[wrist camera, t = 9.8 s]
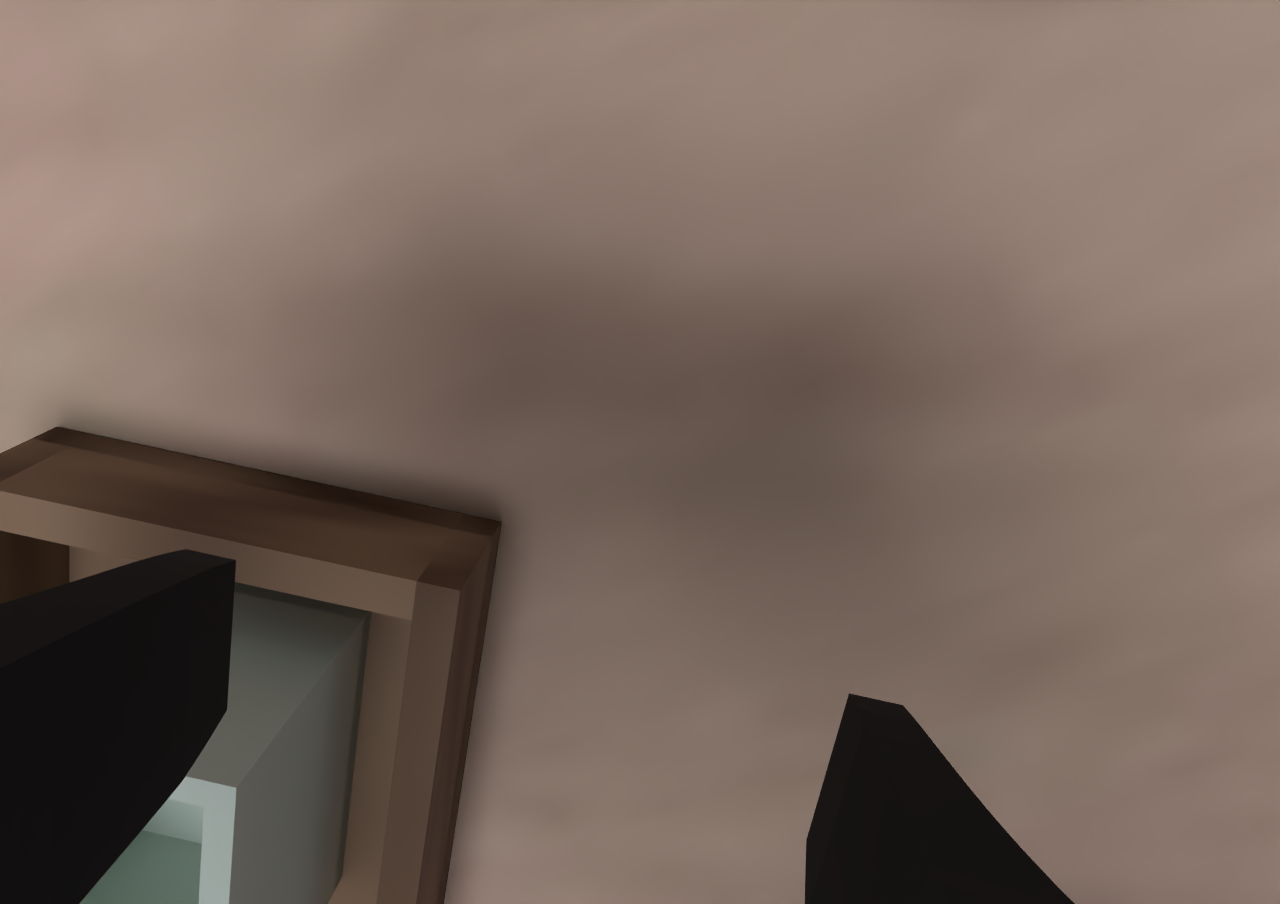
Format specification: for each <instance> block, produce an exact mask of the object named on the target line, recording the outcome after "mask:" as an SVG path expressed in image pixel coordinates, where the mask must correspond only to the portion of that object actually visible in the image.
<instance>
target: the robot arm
mask: <svg viewBox="0 0 1280 904" xmlns="http://www.w3.org/2000/svg"><path fill="white" fill-rule="evenodd" d="M235 572H236V560H234V559H229V558H225V557H220V556H215V555H211V554H206V553H202V552H197V551H193V550H188V549H184V550H179V551H174V552H169V553H165V554H161V555H157V556H154V557H150V558H146V559H143V560H140V561H136V562H133V563H130V564H126V565H123V566H120V567H117V568H114V569H110V570H107V571H104V572H101V573H98V574H95V575H92V576H89V577H85V578H82V579H79V580H76V581H73V582H70V583H66V584H63V585H60V586H57V587H54V588H51V589H47V590H44V591H41V592H38V593H35V594H32V595H29V596H25V597H22V598H19V599H16V600H12V601H8V602H5V603H1V604H0V904H79V903H80V902H81V901H82V900H83V899H84V898H85V896H86V895H87V894H88V893H89V892H90V891H91V889H92V888H93V887H94V886H95V885H96V883H97V882H98V881H99V880H100V879H101V878H102V876H103V875H104V874H105V873H106V872H107V871H108V869H109V868H110V867H111V866H112V865H113V864H114V862H115V861H116V860H117V859H118V858H119V856H120V855H121V854H122V853H123V852H124V851H125V849H126V848H127V847H128V846H129V845H130V844H131V842H132V841H133V840H134V839H135V838H136V837H137V835H138V834H139V833H140V832H141V831H142V829H143V828H144V827H145V826H146V825H147V823H148V822H149V821H150V820H151V819H152V817H153V816H154V815H155V814H156V813H157V811H158V810H159V809H160V808H161V807H162V805H163V804H164V803H165V802H166V801H167V799H168V798H169V797H170V796H171V794H172V793H173V792H174V791H175V790H176V788H177V787H178V786H179V785H180V783H181V782H182V781H183V780H184V778H185V776H186V775H187V773H188V772H189V770H190V769H191V767H192V766H193V764H194V763H195V761H196V760H197V758H198V757H199V755H200V754H201V752H202V750H203V749H204V747H205V746H206V744H207V742H208V741H209V739H210V737H211V736H212V734H213V732H214V731H215V729H216V728H217V726H218V724H219V723H220V721H221V719H222V718H223V716H224V714H225V713H226V711H227V704H228V687H229V671H230V654H231V638H232V621H233V605H234V588H235ZM805 904H1074V903H1073V902H1072V901H1071V900H1070V899H1069V898H1068V897H1067V896H1066V895H1065V894H1064V893H1063V892H1062V891H1061V890H1060V889H1059V888H1058V887H1057V886H1056V885H1055V884H1054V883H1053V882H1052V880H1051V879H1050V878H1049V877H1048V876H1047V875H1046V874H1045V873H1044V872H1043V871H1042V870H1041V869H1040V868H1039V867H1038V866H1037V865H1036V863H1035V862H1034V861H1033V860H1032V859H1031V858H1030V857H1029V856H1028V855H1027V854H1026V853H1025V852H1024V851H1023V850H1022V849H1021V848H1020V846H1019V845H1018V844H1017V843H1016V842H1015V841H1014V840H1013V839H1012V837H1011V836H1010V835H1009V834H1008V833H1007V832H1006V831H1005V829H1004V828H1003V827H1002V826H1001V825H1000V824H999V823H998V821H997V820H996V819H995V818H994V817H993V816H992V814H991V813H990V812H989V811H988V810H987V809H986V807H985V806H984V805H983V804H982V803H981V801H980V800H979V799H978V798H977V797H976V795H975V794H974V793H973V792H972V790H971V789H970V788H969V787H968V786H967V784H966V783H965V782H964V781H963V779H962V778H961V777H960V776H959V774H958V773H957V772H956V771H955V769H954V768H953V767H952V766H951V764H950V763H949V762H948V761H947V759H946V758H945V757H944V755H943V754H942V753H941V752H940V750H939V749H938V748H937V747H936V745H935V744H934V743H933V741H932V740H931V739H930V738H929V736H928V735H927V734H926V733H925V731H924V730H923V729H922V728H921V726H920V725H919V724H918V723H917V721H916V720H915V719H914V718H913V717H912V715H911V714H910V713H909V712H908V711H907V710H906V708H905V707H904V706H903V705H899V704H895V703H890V702H885V701H881V700H876V699H872V698H867V697H862V696H858V695H853V694H849V696H848V699H847V703H846V706H845V710H844V713H843V716H842V720H841V723H840V727H839V730H838V734H837V737H836V741H835V744H834V747H833V751H832V754H831V758H830V761H829V765H828V768H827V771H826V775H825V778H824V782H823V785H822V789H821V792H820V796H819V799H818V802H817V806H816V809H815V813H814V816H813V820H812V823H811V827H810V830H809V833H808V837H807V844H806V877H805Z"/></svg>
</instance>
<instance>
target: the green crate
mask: <svg viewBox="0 0 1280 904" xmlns="http://www.w3.org/2000/svg"><path fill="white" fill-rule="evenodd" d="M136 561H137V560H136ZM136 561H135V562H136ZM370 619H371V611H366V610H361V609H357V608H352V607H348V606H343V605H339V604H334V603H329V602H325V601H320V600H316V599H311V598H307V597H302V596H297V595H293V594H288V593H284V592H279V591H275V590H270V589H265V588H261V587H256V586H252V585H247V584H243V583H238V582H235V588H234V605H233V621H232V638H231V654H230V671H229V687H228V704H227V711H226V713H225V714H224V716H223V718H222V719H221V721H220V723H219V724H218V726H217V728H216V729H215V731H214V732H213V734H212V736H211V737H210V739H209V741H208V742H207V744H206V746H205V747H204V749H203V750H202V752H201V754H200V755H199V757H198V758H197V760H196V761H195V763H194V764H193V766H192V767H191V769H190V770H189V772H188V773H187V775H186V776H185V778H184V780H183V781H182V782H181V783H180V785H179V786H178V787H177V788H176V790H175V791H174V792H173V793H172V794H171V796H170V797H169V798H168V799H167V801H166V802H165V803H164V804H163V805H162V807H161V808H160V809H159V810H158V811H157V813H156V814H155V815H154V816H153V817H152V819H151V820H150V821H149V822H148V823H147V825H146V826H145V827H144V828H143V829H142V831H141V832H140V833H139V834H138V835H137V837H136V838H135V839H134V840H133V841H132V842H131V844H130V845H129V846H128V847H127V848H126V849H125V851H124V852H123V853H122V854H121V855H120V856H119V858H118V859H117V860H116V861H115V862H114V864H113V865H112V866H111V867H110V868H109V869H108V871H107V872H106V873H105V874H104V875H103V876H102V878H101V879H100V880H99V881H98V882H97V883H96V885H95V886H94V887H93V888H92V889H91V891H90V892H89V893H88V894H87V895H86V896H85V898H84V899H83V900H82V901H81V902H80V903H79V904H328V902H329V900H330V899H331V897H332V895H333V893H334V891H335V889H336V887H337V885H338V884H339V882H340V880H341V878H342V873H343V864H344V855H345V846H346V837H347V828H348V819H349V810H350V801H351V792H352V782H353V773H354V764H355V755H356V746H357V737H358V728H359V719H360V710H361V700H362V691H363V682H364V673H365V664H366V655H367V646H368V637H369V628H370Z"/></svg>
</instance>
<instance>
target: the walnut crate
mask: <svg viewBox="0 0 1280 904" xmlns="http://www.w3.org/2000/svg"><path fill="white" fill-rule="evenodd" d="M500 529H501V522H498V521H494V520H489V519H484V518H480V517H475V516H470V515H465V514H461V513H456V512H451V511H447V510H442V509H437V508H433V507H428V506H423V505H419V504H414V503H409V502H405V501H400V500H395V499H391V498H386V497H381V496H377V495H372V494H367V493H363V492H358V491H353V490H349V489H344V488H339V487H335V486H330V485H325V484H321V483H316V482H311V481H307V480H302V479H297V478H293V477H288V476H283V475H279V474H274V473H269V472H265V471H260V470H255V469H251V468H246V467H241V466H237V465H232V464H227V463H223V462H218V461H213V460H209V459H204V458H199V457H195V456H190V455H185V454H181V453H176V452H171V451H167V450H162V449H157V448H153V447H148V446H143V445H139V444H134V443H129V442H125V441H120V440H115V439H111V438H106V437H101V436H97V435H92V434H87V433H83V432H78V431H73V430H69V429H64V428H59V427H55V428H53V429H51V430H49V431H47V432H45V433H43V434H41V435H38V436H36V437H34V438H32V439H30V440H28V441H26V442H24V443H21V444H19V445H17V446H15V447H13V448H11V449H9V450H7V451H5V452H2V453H0V604H1V603H5V602H8V601H12V600H16V599H19V598H22V597H25V596H29V595H32V594H35V593H38V592H41V591H44V590H47V589H51V588H54V587H57V586H60V585H63V584H66V583H70V582H73V581H76V580H79V579H82V578H85V577H89V576H92V575H95V574H98V573H101V572H104V571H107V570H110V569H114V568H117V567H120V566H123V565H126V564H130V563H133V562H135V561H136V560H137V561H140V560H143V559H146V558H150V557H154V556H157V555H161V554H165V553H169V552H174V551H179V550H184V549H188V550H193V551H197V552H202V553H206V554H211V555H215V556H220V557H225V558H229V559H234V560H236V572H235V582H238V583H243V584H247V585H252V586H256V587H261V588H265V589H270V590H275V591H279V592H284V593H288V594H293V595H297V596H302V597H307V598H311V599H316V600H320V601H325V602H329V603H334V604H339V605H343V606H348V607H352V608H357V609H361V610H366V611H371V619H370V628H369V637H368V646H367V655H366V664H365V673H364V682H363V691H362V700H361V710H360V719H359V728H358V737H357V746H356V755H355V764H354V773H353V782H352V792H351V801H350V810H349V819H348V828H347V837H346V846H345V855H344V864H343V873H342V878H341V880H340V882H339V884H338V885H337V887H336V889H335V891H334V893H333V895H332V897H331V899H330V900H329V902H328V904H443V903H444V897H445V890H446V884H447V877H448V870H449V864H450V857H451V851H452V844H453V838H454V831H455V824H456V818H457V811H458V805H459V798H460V792H461V785H462V778H463V772H464V765H465V759H466V752H467V746H468V739H469V732H470V726H471V719H472V713H473V706H474V700H475V693H476V686H477V680H478V673H479V667H480V660H481V654H482V647H483V640H484V634H485V627H486V621H487V614H488V608H489V601H490V594H491V588H492V581H493V575H494V568H495V562H496V555H497V548H498V542H499V535H500Z"/></svg>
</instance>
